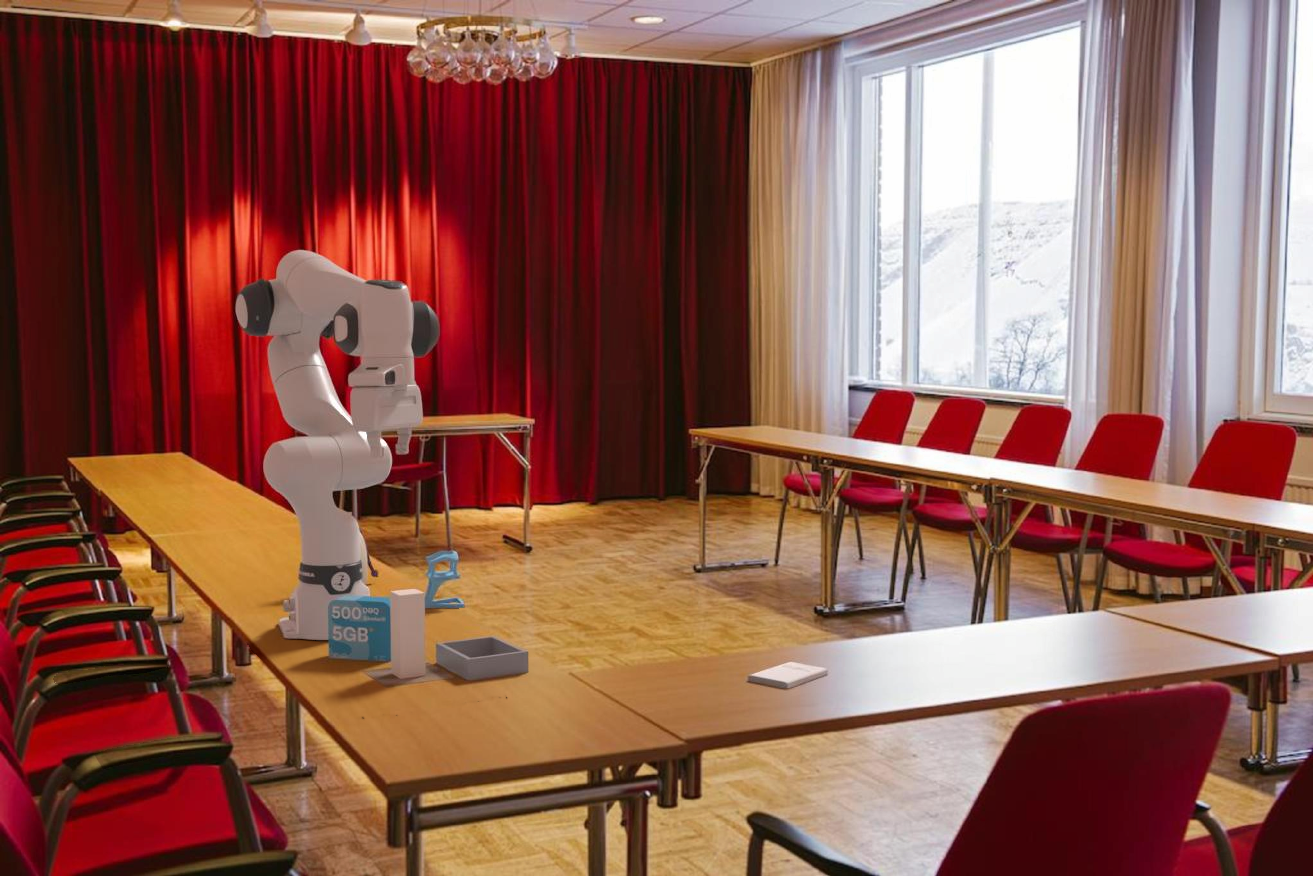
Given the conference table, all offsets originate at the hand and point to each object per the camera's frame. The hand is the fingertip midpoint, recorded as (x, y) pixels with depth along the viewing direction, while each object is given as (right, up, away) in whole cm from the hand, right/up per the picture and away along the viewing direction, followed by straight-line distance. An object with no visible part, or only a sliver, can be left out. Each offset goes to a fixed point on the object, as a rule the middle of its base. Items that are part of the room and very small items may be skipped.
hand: (390, 456), depth 231 cm
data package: (-6, -38, +10) cm, 39 cm away
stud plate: (+4, -38, -3) cm, 38 cm away
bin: (+15, -38, +2) cm, 41 cm away
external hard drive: (+68, -39, +1) cm, 78 cm away
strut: (+4, -37, -3) cm, 37 cm away
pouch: (-25, -32, +77) cm, 88 cm away
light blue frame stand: (-1, -33, +62) cm, 70 cm away
